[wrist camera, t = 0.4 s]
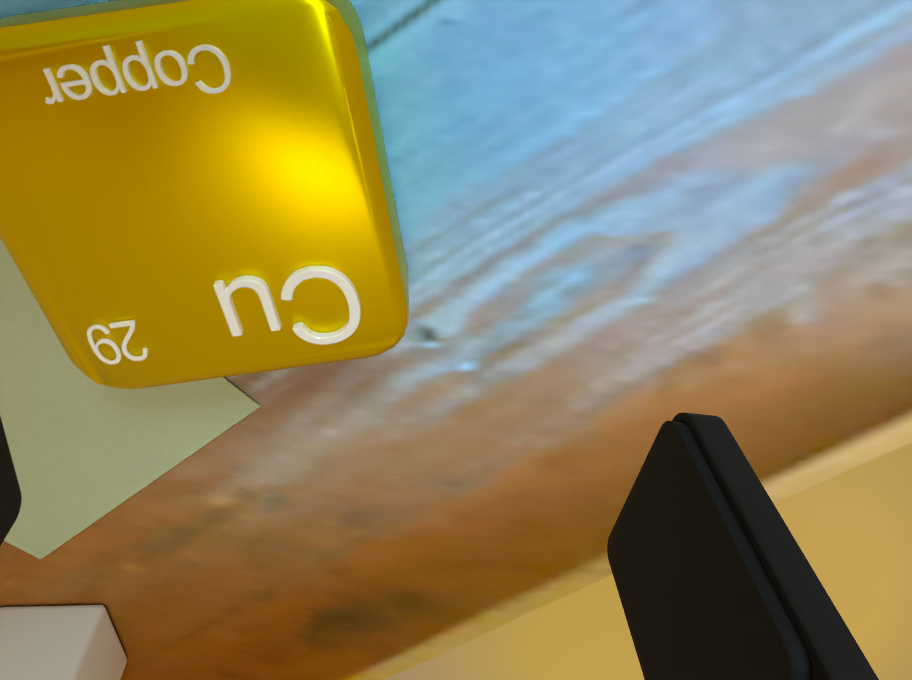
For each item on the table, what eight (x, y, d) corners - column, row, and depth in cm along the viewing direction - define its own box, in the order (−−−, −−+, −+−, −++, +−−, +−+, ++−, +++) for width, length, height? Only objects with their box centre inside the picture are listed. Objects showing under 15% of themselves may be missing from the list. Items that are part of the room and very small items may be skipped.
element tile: (352, -35, 24) (342, -22, 20) (414, 304, 33) (416, 360, 29) (-42, 22, 25) (-127, 47, 21) (122, 344, 33) (83, 405, 29)
